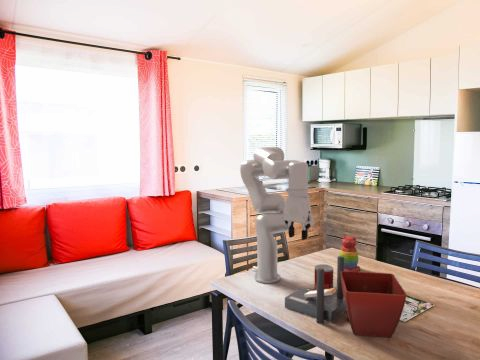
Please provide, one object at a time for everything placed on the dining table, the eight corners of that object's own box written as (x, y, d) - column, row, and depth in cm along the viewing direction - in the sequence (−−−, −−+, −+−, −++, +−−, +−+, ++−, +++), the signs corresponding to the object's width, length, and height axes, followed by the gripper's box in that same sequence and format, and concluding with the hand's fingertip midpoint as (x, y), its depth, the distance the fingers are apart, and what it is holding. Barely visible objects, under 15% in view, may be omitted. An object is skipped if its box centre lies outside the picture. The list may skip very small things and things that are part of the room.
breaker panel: (284, 307, 147) (284, 293, 146) (301, 296, 157) (301, 283, 156) (331, 323, 134) (331, 307, 134) (346, 309, 144) (346, 295, 144)
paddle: (305, 297, 146) (304, 293, 146) (310, 294, 149) (309, 290, 149) (331, 295, 138) (330, 291, 138) (336, 291, 141) (335, 287, 141)
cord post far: (335, 305, 148) (336, 257, 145) (338, 303, 150) (339, 255, 147) (341, 307, 146) (342, 258, 144) (344, 305, 148) (345, 257, 146)
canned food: (333, 295, 157) (333, 270, 156) (314, 294, 159) (314, 269, 158) (332, 288, 165) (333, 264, 163) (314, 287, 166) (314, 263, 165)
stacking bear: (360, 268, 189) (361, 234, 187) (358, 275, 180) (359, 239, 178) (339, 265, 194) (340, 232, 192) (335, 272, 184) (336, 237, 182)
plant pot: (405, 344, 120) (407, 294, 118) (345, 340, 123) (345, 291, 121) (391, 316, 139) (393, 273, 137) (339, 313, 142) (339, 270, 140)
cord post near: (315, 322, 135) (315, 269, 132) (318, 319, 137) (319, 267, 134) (321, 324, 133) (322, 271, 131) (324, 321, 135) (325, 269, 133)
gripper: (274, 192, 148) (274, 236, 150) (312, 196, 137) (312, 243, 139) (284, 190, 154) (284, 232, 156) (322, 193, 143) (321, 239, 145)
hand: (297, 237), depth 148 cm, fingers open, 5 cm apart
